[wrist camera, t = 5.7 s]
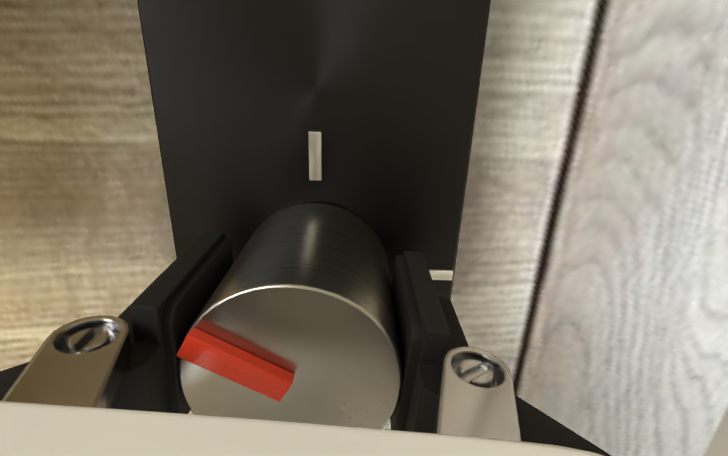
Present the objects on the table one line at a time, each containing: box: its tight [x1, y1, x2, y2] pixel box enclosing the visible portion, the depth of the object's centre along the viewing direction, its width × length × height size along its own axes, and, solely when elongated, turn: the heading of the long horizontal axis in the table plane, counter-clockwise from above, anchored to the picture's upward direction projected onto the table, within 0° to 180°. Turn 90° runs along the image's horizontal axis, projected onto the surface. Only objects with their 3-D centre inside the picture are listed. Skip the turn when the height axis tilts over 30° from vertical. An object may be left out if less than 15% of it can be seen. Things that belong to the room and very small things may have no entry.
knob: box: [177, 203, 403, 429], centre depth 10 cm, size 5×5×5 cm
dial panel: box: [137, 0, 491, 300], centre depth 12 cm, size 18×9×2 cm, turn 178°
